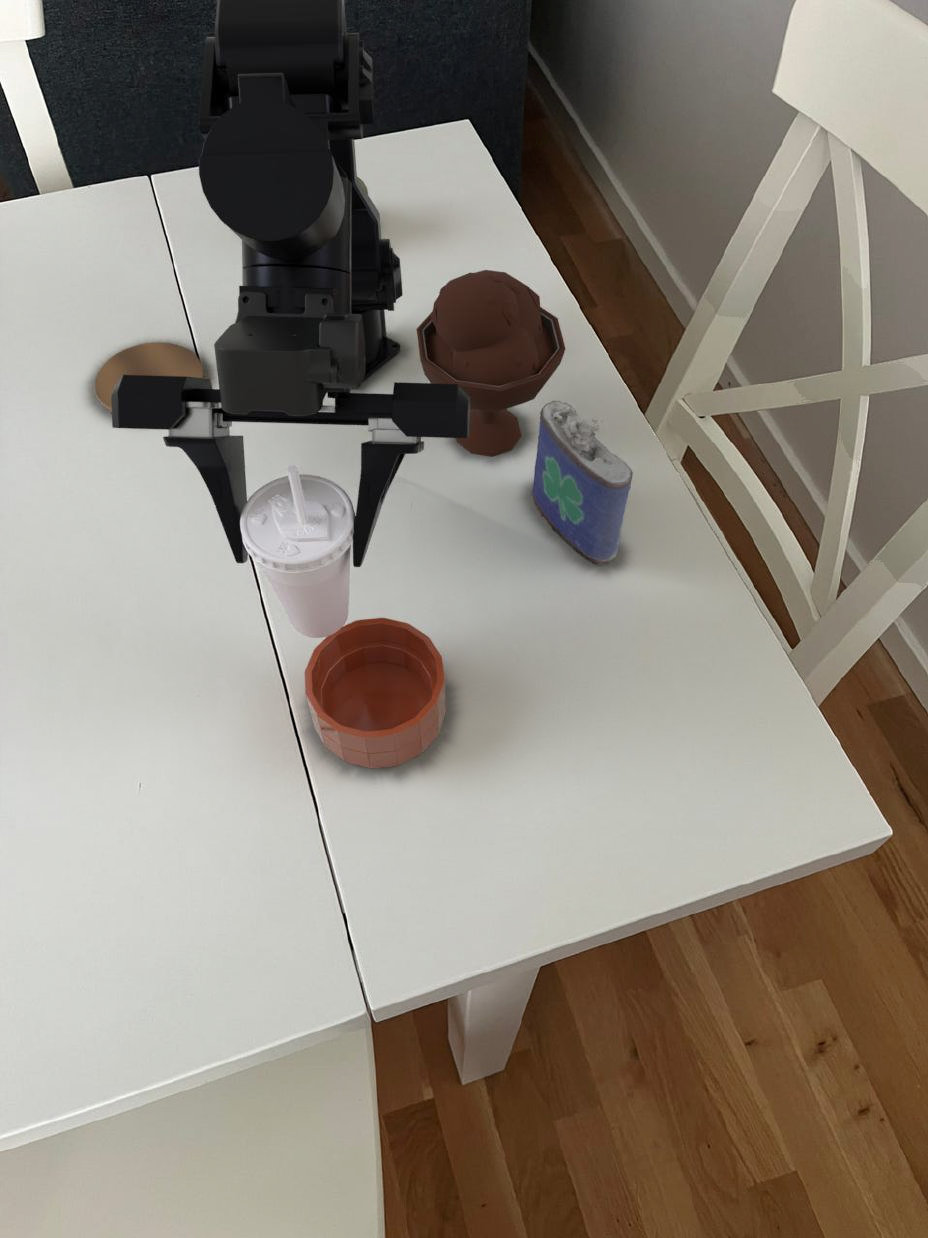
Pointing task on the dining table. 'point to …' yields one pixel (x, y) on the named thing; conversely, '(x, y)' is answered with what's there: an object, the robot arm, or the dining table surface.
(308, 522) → the smoothie
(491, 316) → the ice cream bowl
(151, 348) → the coaster
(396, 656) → the bowl
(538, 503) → the flask
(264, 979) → the dining table surface
